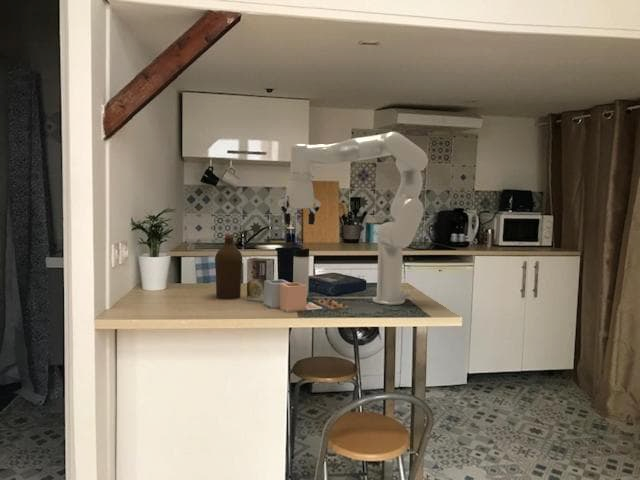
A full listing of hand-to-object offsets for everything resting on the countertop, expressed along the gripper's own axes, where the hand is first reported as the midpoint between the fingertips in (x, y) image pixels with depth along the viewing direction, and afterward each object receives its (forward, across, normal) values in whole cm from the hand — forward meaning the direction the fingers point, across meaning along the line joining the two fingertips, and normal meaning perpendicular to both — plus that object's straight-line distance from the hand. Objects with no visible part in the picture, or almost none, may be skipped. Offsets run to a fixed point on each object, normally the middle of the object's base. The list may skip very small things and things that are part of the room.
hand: (299, 224), depth 187 cm
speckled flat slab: (+30, -12, +5) cm, 33 cm away
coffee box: (+31, +10, -13) cm, 35 cm away
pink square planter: (+30, +5, +6) cm, 31 cm away
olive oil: (+31, +20, -22) cm, 43 cm away
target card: (+30, -2, +4) cm, 31 cm away
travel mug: (+31, -7, -12) cm, 34 cm away
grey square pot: (+30, +8, -1) cm, 31 cm away
